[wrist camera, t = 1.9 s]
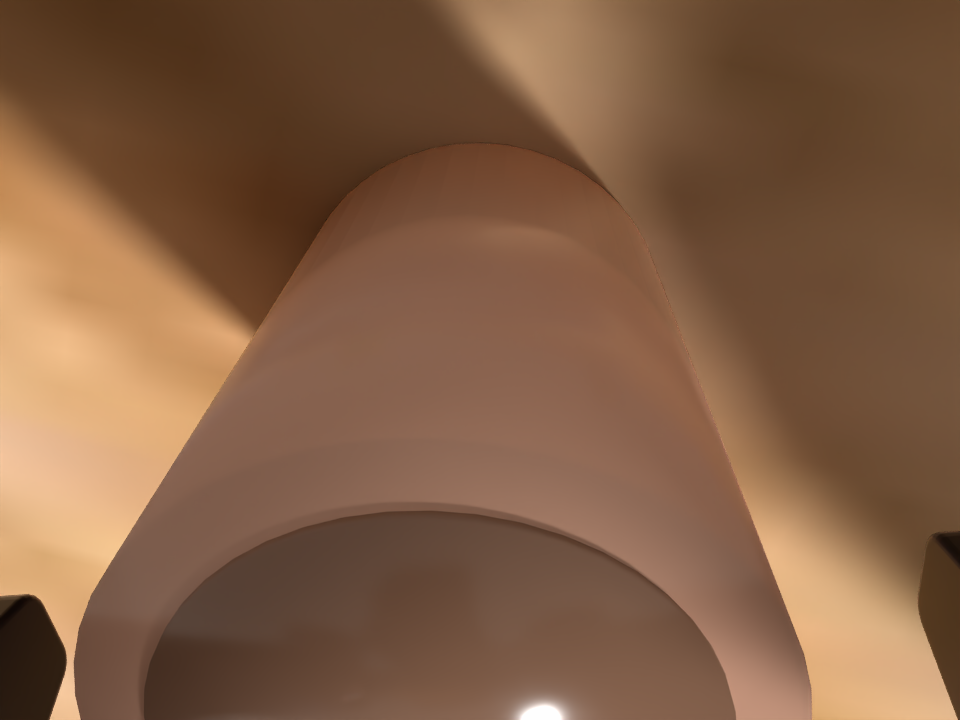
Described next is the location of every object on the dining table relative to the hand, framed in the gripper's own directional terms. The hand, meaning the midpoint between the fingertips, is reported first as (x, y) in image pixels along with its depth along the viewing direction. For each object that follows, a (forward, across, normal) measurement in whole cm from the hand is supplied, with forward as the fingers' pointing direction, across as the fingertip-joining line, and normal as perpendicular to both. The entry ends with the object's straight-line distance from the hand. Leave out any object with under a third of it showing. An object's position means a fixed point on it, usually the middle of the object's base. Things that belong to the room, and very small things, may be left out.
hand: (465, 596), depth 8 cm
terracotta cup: (+6, 0, 0) cm, 6 cm away
